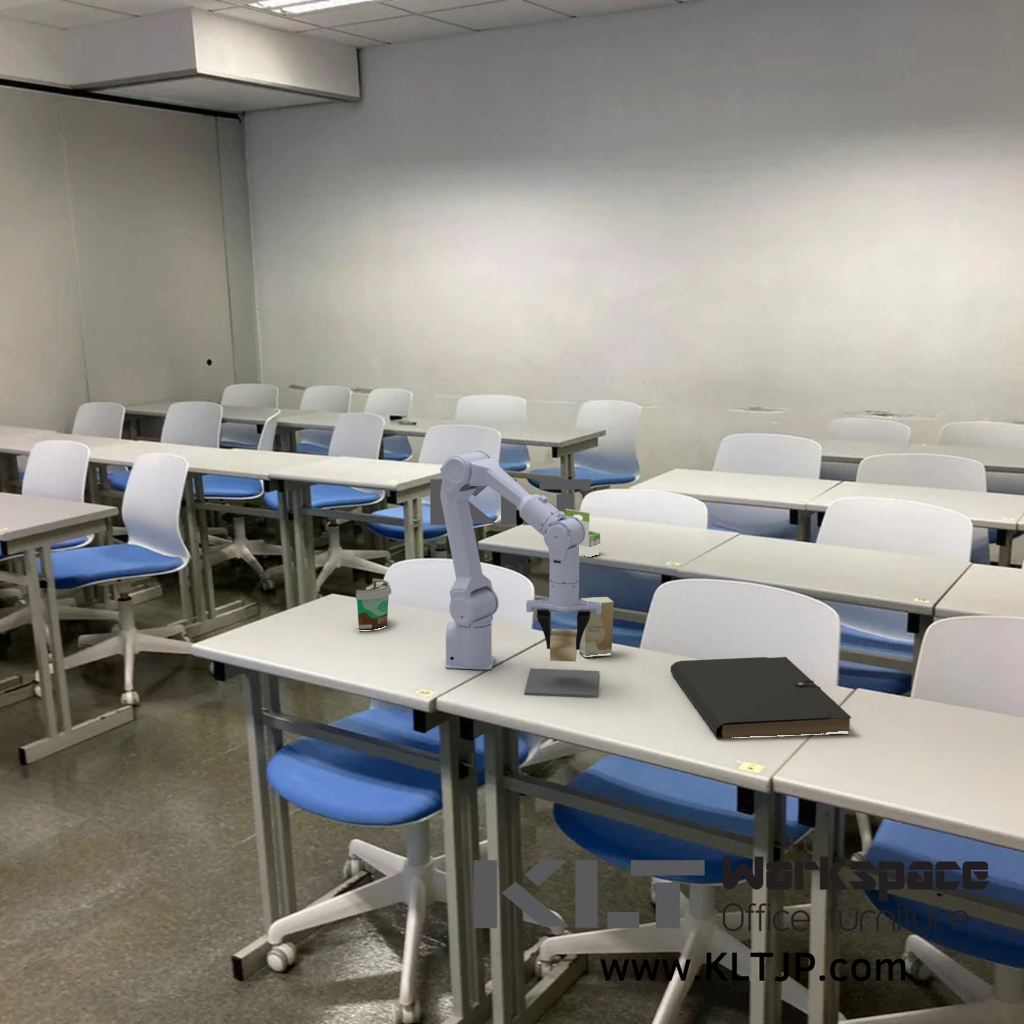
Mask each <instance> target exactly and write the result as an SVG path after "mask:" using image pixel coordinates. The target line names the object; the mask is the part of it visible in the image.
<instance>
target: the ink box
mask: <svg viewBox="0 0 1024 1024" xmlns="http://www.w3.org/2000/svg"><path fill="white" fill-rule="evenodd" d="M573 515H579V516H581V517H582V519H579V521H580V522H581V523H582V524H583V526H584V529H585V537H584V540H583V542H582V543H581V544H579V545H581V546H586V547H592V546H595V545H598V544H600V545H601V533H600V532H597V531H590V512H586V511H583V510H582V511H581V510H577V509H576V510H575V509H570V508H565V516H567V517H570V516H572V517H573Z"/></svg>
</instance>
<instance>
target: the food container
mask: <svg viewBox="0 0 1024 1024" xmlns="http://www.w3.org/2000/svg"><path fill="white" fill-rule="evenodd" d="M391 594H392V589H391V585H390V583H389V581H387V580H385V579H380V578H372V582H371V583H370V584H368V585H365V586H364V588H362V589H361V590H357V589H356V591H355V600H356V605H357V606H356V607H357V622H358V624H357V625H358V631H359V630H374V629H378V628H382V627H384V626H386V625H387V626H388V615H389V613H388V612H389V599H390V598H389V597H390V595H391ZM387 626H386V627H387Z"/></svg>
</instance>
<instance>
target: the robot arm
mask: <svg viewBox="0 0 1024 1024" xmlns="http://www.w3.org/2000/svg"><path fill="white" fill-rule="evenodd" d="M439 470H440V476H441V480H442V481H441V486H440V493H439V496H440V503H441V506H442V507H441V508H442V513H443V517H444V523H445V527H446V533H447V538H448V543H449V548H450V549H449V550H450V553H451V559H452V565H453V569H454V574H455V581H454V582H453V585H452V586H451V588H450V590H449V595H450V601H449V614H450V616H451V618H452V620H453V621H448V622H447V625H446V629H445V630H446V631H445V668H446V669H462V670H487V671H489V670H492V668H493V665H494V663H495V659H496V656H495V655H493V654H492V651H493V649H492V647H493V645H492V642H493V640H492V639H493V638H492V637H493V636H492V635H493V634H492V632H493V630H492V629H493V627H492V624H493V623H492V621H493V620H494V615H495V613H497V611H498V609H499V605H500V604H499V603H500V601H499V597H498V595H497V593H496V591H495V590H494V588H493V585H492V581H491V580H490V579H489V578H488V577H487V576H486V575H485V574H483V570H482V564H481V560H480V559H481V558H480V553H479V550H478V549H479V548H478V543H477V540H476V533H475V529H474V522H473V518H472V514H471V508H470V501H469V499H470V498H471V496H472V495H473V494H474V492H475V491H476V490H477V489H478V487H489V488H491V489H492V490H493V491H495V492H496V493H498V494H499V495H500V496H502V497H503V498H504V499H506V500H507V501H508V502H509V503H511V504H513V505H514V506H515V507H517V508H518V511H519V512H518V513H519V518H521V519H522V520H523V521H525V522H526V523H527V524H528V525H530V526H531V527H532V528H533V529H534V530H536V532H538V534H541V536H542V537H543V540H544V541H543V542H544V544H545V545H546V547H547V548H548V556H549V579H548V580H549V581H548V582H549V588H548V589H549V590H548V591H549V592H548V593H549V598H547V599H527V600H526V604H525V605H526V606H525V610H526V613H532V612H537V613H536V619H537V622H538V624H539V625H540V627H541V629H542V633H543V635H544V639H545V643H546V649H547V650H550V635H551V630H552V629H551V628H552V627H551V623H552V621H551V620H552V616H551V615H552V613H575V614H576V613H577V614H576V630H577V639H576V650H577V651H579V650H580V642H581V638H582V635H583V632H584V630H585V628H586V626H587V624H588V622H589V619H590V613H595V614H601V602H591V601H583V600H581V599H579V598H580V596H579V594H580V592H579V591H580V556H579V544H581V543H582V542H583V540H584V537H585V529H584V526H583V524H582V523H581V522H580V521H579V520H580V519H579V518H578V517H576V516H573V515H572V516H570V517H567V516H566V512H564V511H563V510H562V511H560V510H559V509H558V508H557V507H555V506H554V505H553V504H551V503H550V502H549V501H548V500H549V498H548V497H547V496H545V495H544V494H543V495H540V494H538V493H536V494H535V493H534V494H530V493H528V491H527V490H526V489H525V488H524V487H522V485H520V484H519V483H518V482H517V481H516V480H515V479H514V478H512V476H510V475H509V474H508V473H507V471H505V470H504V469H503V468H502V467H501V466H500V465H499V461H498V460H497V459H496V458H494V457H492V456H490V454H489V453H487V452H486V451H483V450H477V451H474V452H469V453H464V454H454V455H450V456H449V457H448V458H447V459H446V460H445V461H444V463H443V464H442V465H441V467H440V469H439ZM577 545H578V546H577Z"/></svg>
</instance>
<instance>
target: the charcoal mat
mask: <svg viewBox="0 0 1024 1024" xmlns="http://www.w3.org/2000/svg"><path fill="white" fill-rule="evenodd" d="M599 681H600V671H599V670H589V669H588V670H587V669H586V670H584V669H583V670H581V669H557V668H535V667H534V668H532V667H531V668H529V673H528V677H527V679H526V685H525V687H524V688H525V689H524V692H523V695H524V696H543V695H545V696H547V697H548V696H549V697H571V698H592V697H598V696H599V684H598V683H600V682H599ZM598 698H599V697H598Z"/></svg>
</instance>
